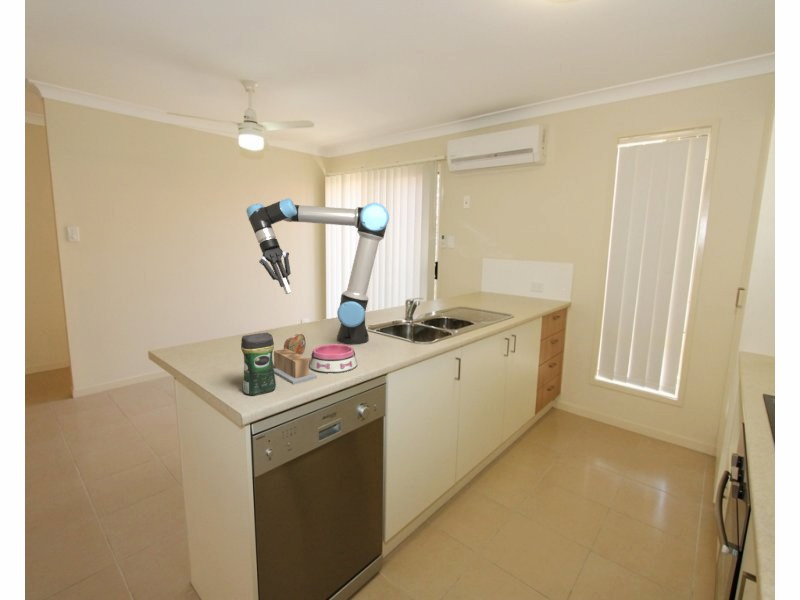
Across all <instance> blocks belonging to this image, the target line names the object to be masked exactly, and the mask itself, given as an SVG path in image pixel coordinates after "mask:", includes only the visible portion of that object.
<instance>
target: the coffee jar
mask: <svg viewBox="0 0 800 600" xmlns="http://www.w3.org/2000/svg"><path fill="white" fill-rule="evenodd" d="M240 345H241V346H240V347H241V349H240V350H241V352H242V354H243V361H244V362H243V381H242V390H243V392H244V393H245V394H246V395H249V396H257V395H258V396H259V395H262V394H265V393H269V392H273V391H274V390H275V389H276V388H277V387H276V386H277V384H276V376H275V375H276V374H274V369H275V368H274V364H273V362H274V360H273V353H274V347H275V342H274V337H273V335H272V334H271V333H269V332H262V333H261V332H260V333H259V332H258V333H252V334H247V335H242V336H241V343H240Z"/></svg>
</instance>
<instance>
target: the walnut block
mask: <svg viewBox="0 0 800 600" xmlns="http://www.w3.org/2000/svg"><path fill="white" fill-rule="evenodd" d="M273 362H274V364H273V368H278V369H279V370H281V371H283V372H285V373H287V374H288V375H290V376H292V377H294V378H295V379H296V378H300V377H304V376H308V375H309V372H310V371H309V370H310V368H309V364H310V359H309V358H308V357H305V356H303V355H302V354H301V355H299V354H297V353H295V352H293V351H291V350H288V349H284V348H283V349H278V350H273Z"/></svg>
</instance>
